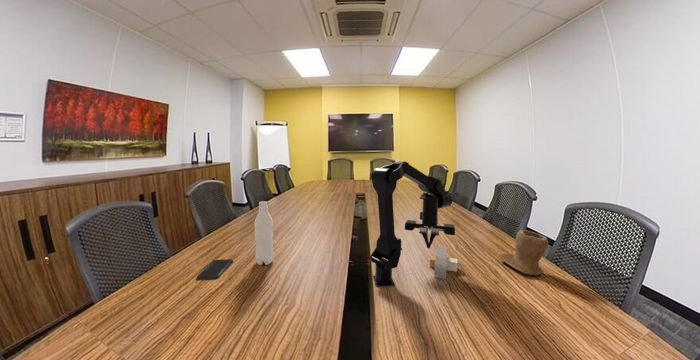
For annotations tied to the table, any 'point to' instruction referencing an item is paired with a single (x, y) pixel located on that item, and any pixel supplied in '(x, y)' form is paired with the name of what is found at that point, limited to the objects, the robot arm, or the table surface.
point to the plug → (450, 263)
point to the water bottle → (264, 235)
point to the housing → (440, 262)
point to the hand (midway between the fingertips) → (428, 248)
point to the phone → (215, 269)
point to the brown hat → (527, 252)
